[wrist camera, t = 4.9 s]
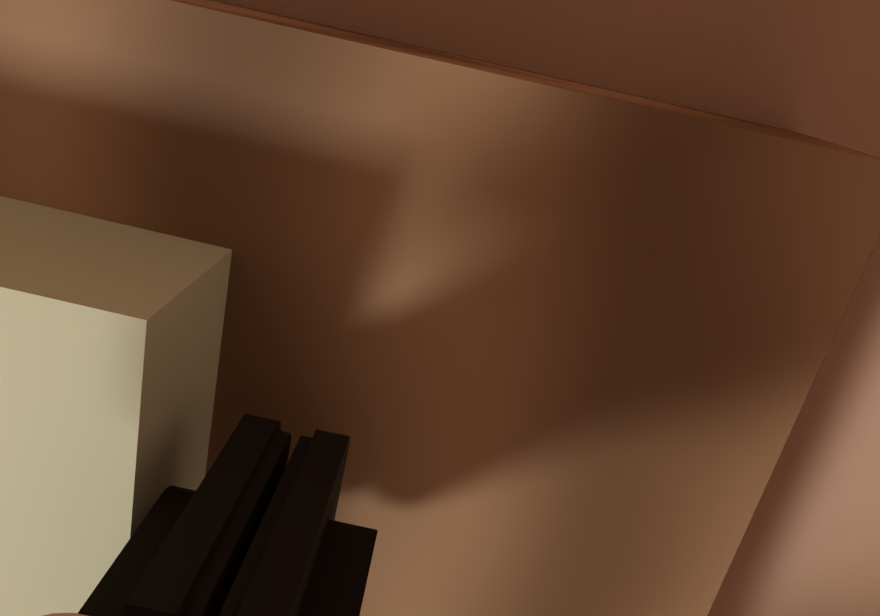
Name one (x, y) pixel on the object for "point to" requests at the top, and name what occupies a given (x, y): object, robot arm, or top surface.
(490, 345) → the riser
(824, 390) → the top surface
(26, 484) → the tile
